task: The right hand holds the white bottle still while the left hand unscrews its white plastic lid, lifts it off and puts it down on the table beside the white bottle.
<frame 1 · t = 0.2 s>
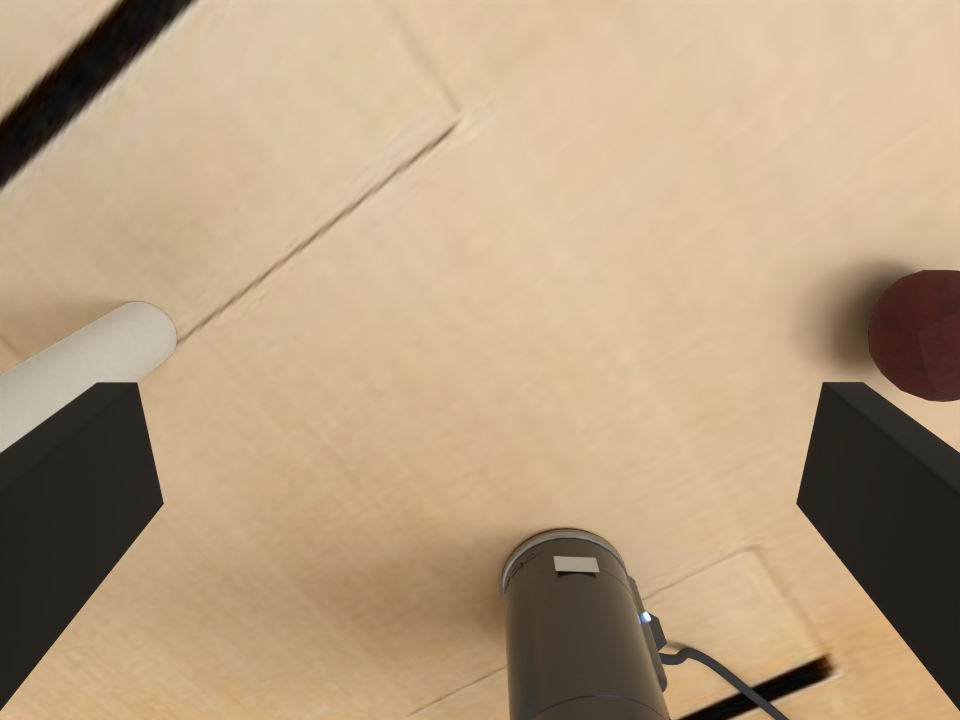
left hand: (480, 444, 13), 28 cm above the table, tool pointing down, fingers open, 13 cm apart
dark red ball: (901, 314, 41), on the table
white bottle: (143, 333, 41), on the table
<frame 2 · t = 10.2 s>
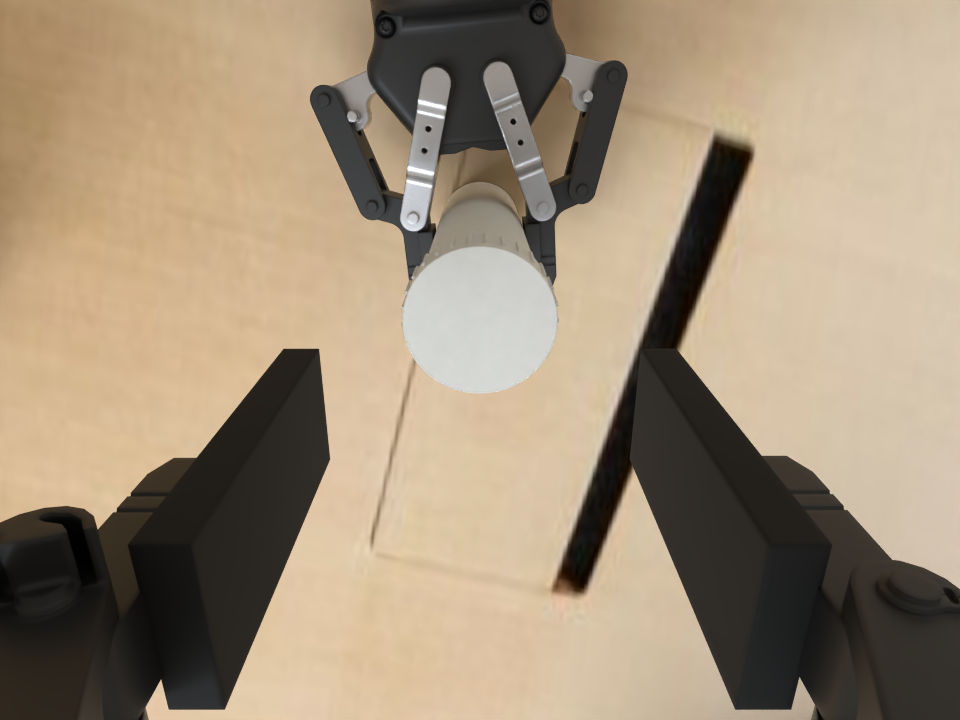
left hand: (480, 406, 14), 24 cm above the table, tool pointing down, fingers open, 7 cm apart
right hand: (484, 297, 32), fingers closed on white bottle, 4 cm apart
white bottle: (480, 220, 36), on the table, touching right hand
lid: (480, 319, 20), point 18 cm above the table, screwed on, not yet turned
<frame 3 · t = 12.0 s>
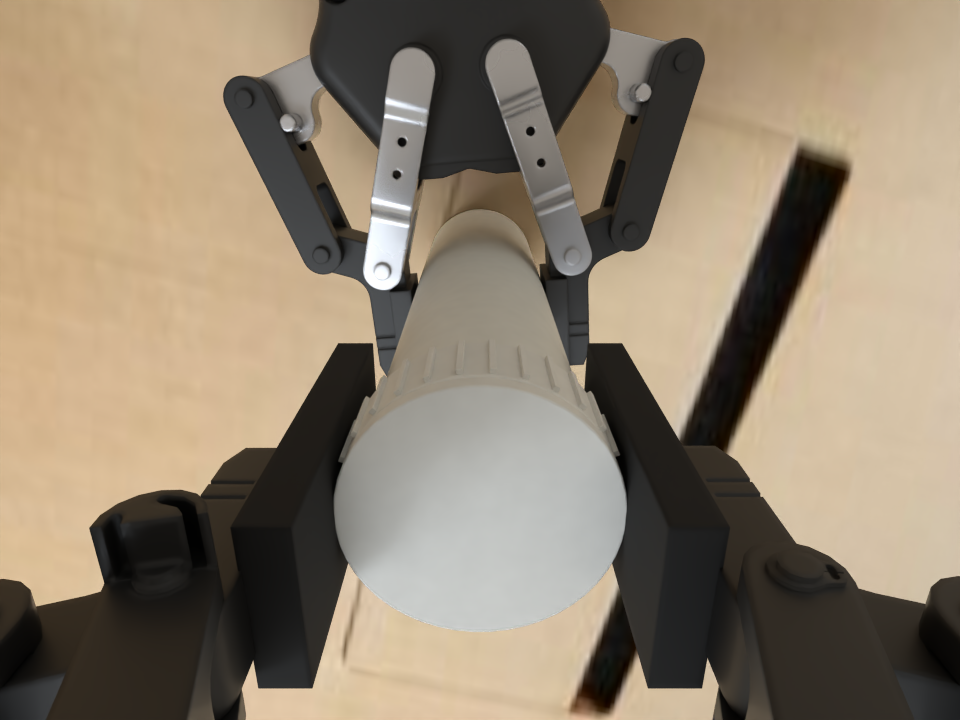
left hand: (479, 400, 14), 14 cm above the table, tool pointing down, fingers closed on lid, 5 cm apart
right hand: (487, 376, 22), fingers closed on white bottle, 4 cm apart
white bottle: (480, 259, 27), on the table, touching right hand
lid: (480, 507, 11), point 18 cm above the table, screwed on, not yet turned, touching left hand
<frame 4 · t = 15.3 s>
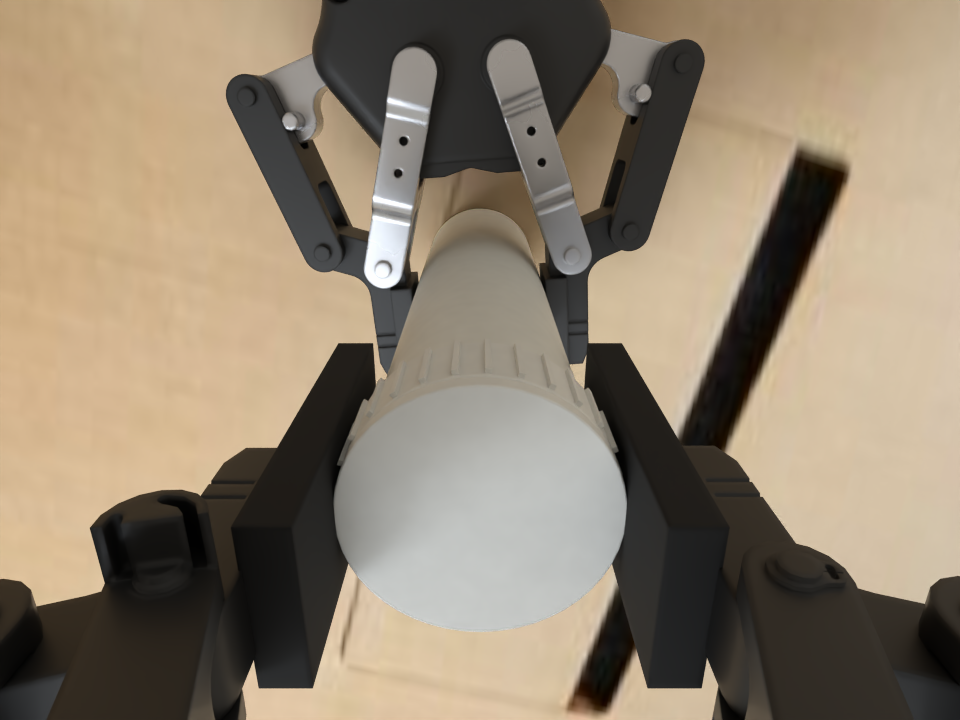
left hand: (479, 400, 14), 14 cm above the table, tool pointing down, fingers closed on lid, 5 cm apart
right hand: (486, 375, 23), fingers closed on white bottle, 4 cm apart
white bottle: (480, 259, 27), on the table, touching right hand
lid: (480, 506, 11), point 18 cm above the table, turned 101° so far, risen 0.1 cm, still on its thread, touching left hand
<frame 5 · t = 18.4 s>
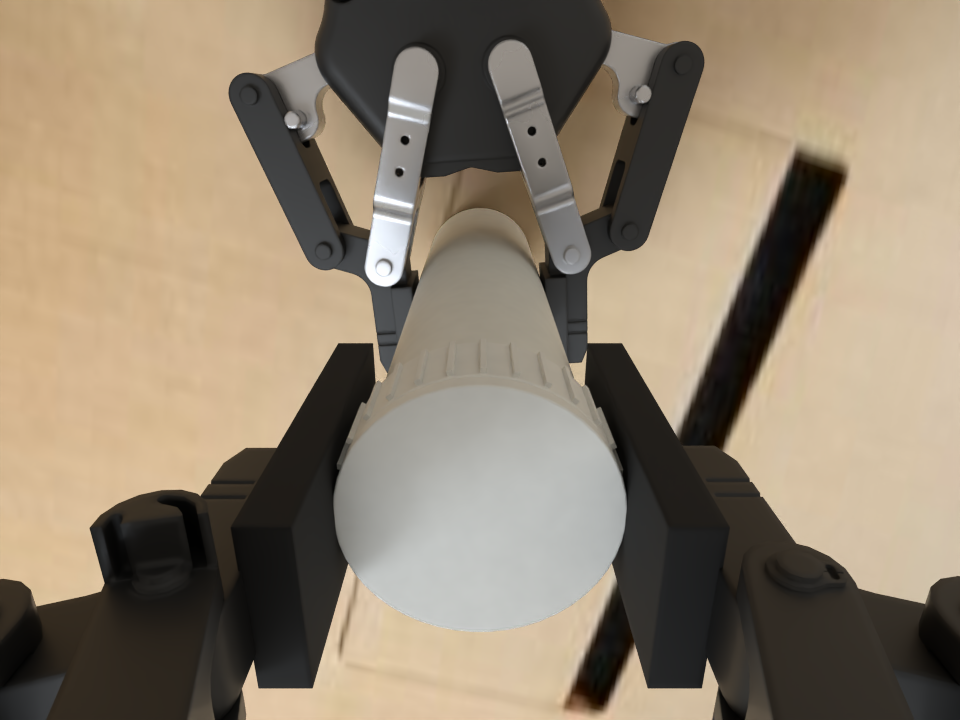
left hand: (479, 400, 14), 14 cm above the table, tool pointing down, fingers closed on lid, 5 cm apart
right hand: (486, 373, 23), fingers closed on white bottle, 4 cm apart
white bottle: (480, 258, 27), on the table, touching right hand
lid: (479, 506, 11), point 18 cm above the table, turned 203° so far, risen 0.3 cm, still on its thread, touching left hand
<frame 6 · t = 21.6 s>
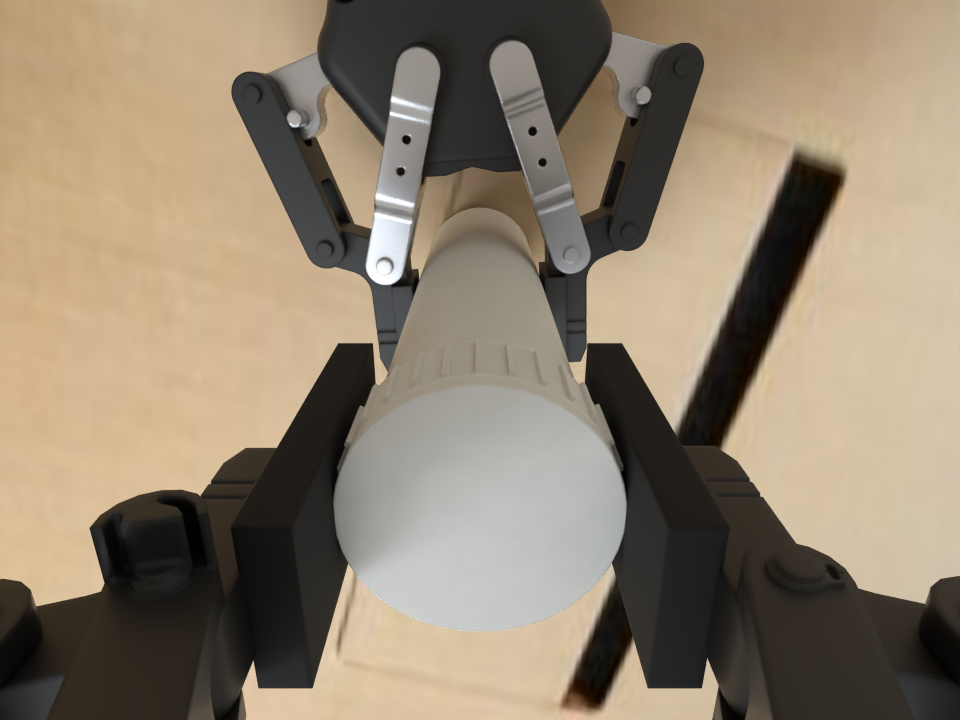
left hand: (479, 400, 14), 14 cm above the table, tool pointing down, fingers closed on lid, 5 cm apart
right hand: (485, 372, 23), fingers closed on white bottle, 4 cm apart
white bottle: (480, 257, 28), on the table, touching right hand
lid: (479, 506, 11), point 18 cm above the table, turned 304° so far, risen 0.4 cm, still on its thread, touching left hand
when the left hand's fingers open (0 cm above the table, at t = 28.0 s): lid stays where it is, point 2 cm above the table.
when the right hand's fingers open (6 cm above the table, at t = 29.1 s): white bottle stays where it is, on the table.
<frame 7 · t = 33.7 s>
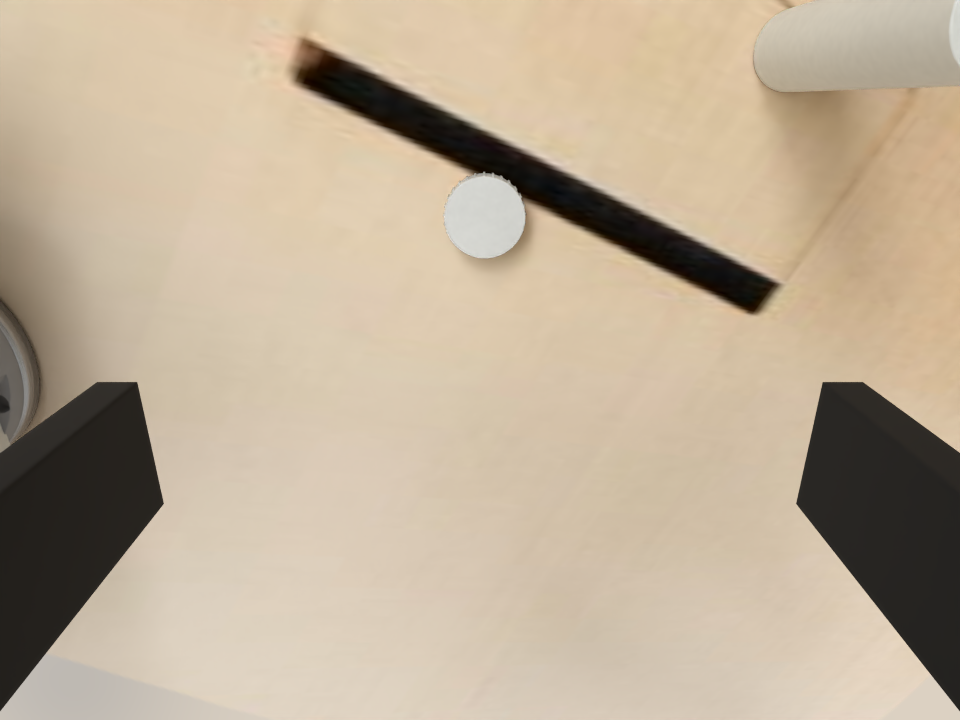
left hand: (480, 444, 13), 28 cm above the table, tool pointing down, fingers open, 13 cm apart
white bottle: (791, 50, 36), on the table
lid: (484, 217, 38), point 2 cm above the table, off its thread
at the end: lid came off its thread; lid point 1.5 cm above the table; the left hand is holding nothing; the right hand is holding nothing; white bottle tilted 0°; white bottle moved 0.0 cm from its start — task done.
